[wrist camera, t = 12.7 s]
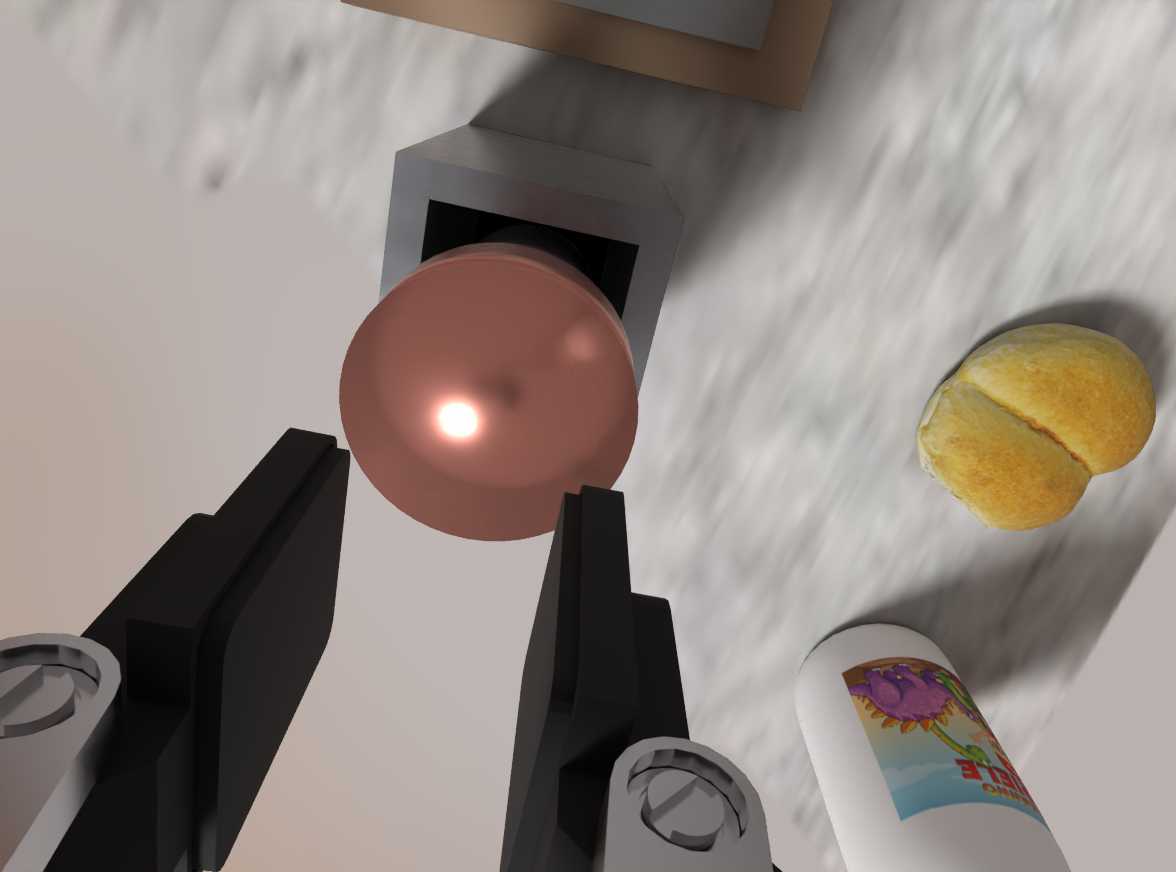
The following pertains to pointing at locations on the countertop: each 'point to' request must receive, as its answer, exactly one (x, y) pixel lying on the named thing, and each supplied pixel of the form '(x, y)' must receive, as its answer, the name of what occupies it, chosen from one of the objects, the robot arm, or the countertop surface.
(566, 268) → the push button
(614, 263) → the column
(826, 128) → the countertop surface
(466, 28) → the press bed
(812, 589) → the countertop surface
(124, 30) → the countertop surface
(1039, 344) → the bread roll
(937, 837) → the milk bottle
